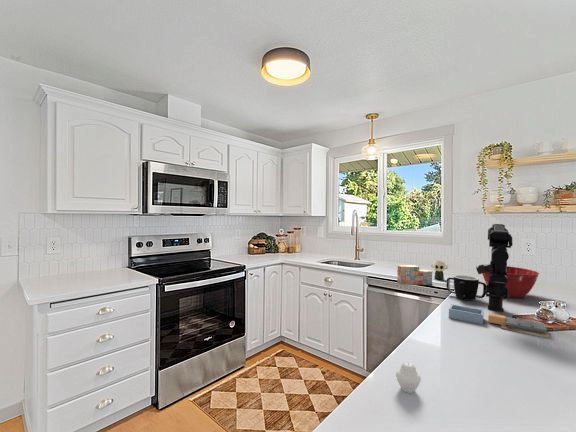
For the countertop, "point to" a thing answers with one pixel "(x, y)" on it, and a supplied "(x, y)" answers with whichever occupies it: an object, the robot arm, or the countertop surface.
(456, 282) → the mug
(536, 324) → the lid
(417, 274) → the stack of blocks
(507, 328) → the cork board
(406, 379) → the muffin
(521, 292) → the mixing bowl
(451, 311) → the tub
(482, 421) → the countertop surface
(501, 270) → the robot arm
